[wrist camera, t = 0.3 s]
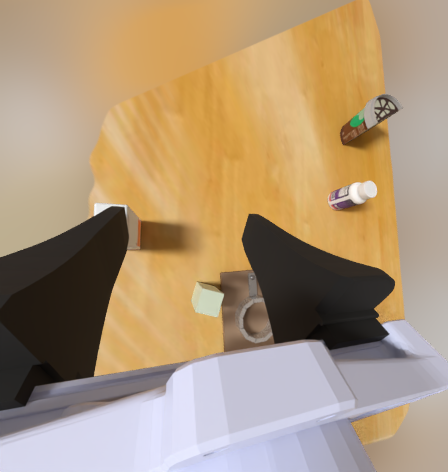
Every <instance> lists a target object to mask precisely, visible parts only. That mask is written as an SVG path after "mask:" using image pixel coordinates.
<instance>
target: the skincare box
mask: <svg viewBox="0 0 448 472" xmlns="http://www.w3.org/2000/svg"><path fill="white" fill-rule="evenodd" d="M111 206H120V207H125V213H126V219H127V225H128V232H129V242H128V247H127V250H135V249H140V235H141V220H140V219H139V218H138V217H137V216H136V214H135V213H134V212H133V211H132V210H131V209H130V208H129V206H128V205H120V204H106V203H95V206H94V216H95V215H97V214H98V213H100V212H102V211H103V210H105V209H107V208H109V207H111Z"/></svg>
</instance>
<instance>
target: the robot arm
mask: <svg viewBox="0 0 448 472" xmlns="http://www.w3.org/2000/svg"><path fill="white" fill-rule="evenodd" d="M128 242H129V232H128V225H127V219H126V213H125V207H120V206H111V207H109V208H107V209H105V210H103V211H102V212H100V213H98V214H97V215H95V216H93V217H92V218H90V219H88V220H87V221H85V222H83V223H81V224H80V225H78V226H76V227H74V228H72V229H70V230H68V231H66V232H64V233H62V234H60V235H58V236H56V237H54V238H51V239H49V240H47V241H44V242H42V243H40V244H37V245H34V246H32V247H29V248H26V249H23V250H20V251H18V252H15V253H12V254H9V255H6V256H3V257H0V472H377V471H376V470H375V468H374V466H373V464H372V462H371V460H370V458H369V457H368V455H367V453H366V451H365V449H364V447H363V445H362V443H361V441H360V440H359V438H358V436H357V434H356V432H355V430H354V428H353V426H352V425H351V422H354V421H357V420H360V419H363V418H366V417H369V416H372V415H375V414H378V413H381V412H384V411H387V410H390V409H393V408H396V407H399V406H402V405H405V404H408V403H411V402H414V401H417V400H419V399H422V398H425V397H427V396H430V395H433V394H436V393H438V392H441V391H444V390H447V389H448V361H447V360H445V358H444V357H442V355H441V354H440V353H439V352H438V351H437V350H436V349H434V348H433V347H432V346H431V345H430V344H429V343H428V342H427V341H426V340H425V339H424V338H423V337H422V336H421V335H420V334H419V333H418V332H417V331H416V330H415V329H414V328H413V327H412V326H411V325H410V324H409V323H408V322H407V321H406V320H404V319H400V320H393V321H387V322H384V323H382V324H380V323H379V322H378V320H377V319H376V318H378V317H379V314H378V313H377V312H376V311H375V310H374V308H375V307H376V306H377V305H378V304H380V303H381V302H382V301H383V300H384V299H385V298H386V297H387V296H388V295H389V294H390V293H391V292H392V291H393V289H394V286H395V281H394V279H392V278H391V277H390V276H389V275H388V274H386V273H385V272H384V271H382V270H381V269H378V268H375V267H371V266H367V265H364V264H360V263H356V262H353V261H350V260H347V259H344V258H341V257H338V256H335V255H332V254H330V253H327V252H325V251H323V250H320V249H318V248H316V247H313V246H311V245H309V244H307V243H305V242H303V241H301V240H299V239H298V238H296V237H294V236H292V235H291V234H289V233H287V232H286V231H284V230H283V229H281V228H279V227H278V226H276V225H275V224H273V223H272V222H270V221H269V220H267V219H266V218H264V217H262V216H260V215H258V214H249V216H248V219H247V222H246V226H245V229H244V233H243V236H242V243H243V247H244V250H245V253H246V255H247V258H248V260H249V262H250V265H251V267H252V269H253V271H254V274H255V276H256V278H257V281H258V283H259V286H260V289H261V292H262V296H263V299H264V302H265V306H266V310H267V313H268V317H269V321H270V325H271V330H272V334H273V339H274V344H273V345H267V346H260V347H254V348H248V349H241V350H235V351H229V352H222V353H216V354H212V355H208V356H204V357H201V358H197V359H194V360H192V361H187V362H181V363H175V364H169V365H163V366H157V367H151V368H144V369H138V370H132V371H126V372H120V373H114V374H108V375H101V376H95V377H94V371H95V366H96V360H97V355H98V350H99V345H100V340H101V335H102V330H103V326H104V321H105V317H106V312H107V308H108V304H109V300H110V296H111V293H112V289H113V286H114V284H115V281H116V278H117V276H118V273H119V271H120V268H121V265H122V263H123V260H124V257H125V254H126V251H127V247H128Z"/></svg>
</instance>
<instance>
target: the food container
mask: <svg viewBox="0 0 448 472" xmlns="http://www.w3.org/2000/svg"><path fill="white" fill-rule="evenodd" d="M402 108H403V107H402V105H401V104H400V103H399V102H398V100H397V99H395V98H394V97H393V96H391V95H388V94H382V95H379V96H377V97H375V98H373V99H371V100H370V101H368V103H367V104H366V106H365V108H364V109H363V110H362V111H360V112H359V113H358V114H357V115H356V116H355V117H353V118H352V119H351V120H350V121H349V122H348V123H346V124H345V125H344V126H343V127H342V129H341V132H340V137H341V141H342V144H343V145H344V144H346V143H348V142H349V141H351V140H353V139H354V138H356V137H358V136H360V135H361V134H363V133H365V132H366V131H368V130H369V129H371V128H372V127H374V126H376V125H377V124H379V123H380V122H382V121H384V120H385V119H387V118H388V117H390V116H391V115H393V114H395V113H396V112H398V111H399V110H401V109H402Z"/></svg>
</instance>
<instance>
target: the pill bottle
mask: <svg viewBox="0 0 448 472" xmlns="http://www.w3.org/2000/svg"><path fill="white" fill-rule="evenodd" d="M376 194H377V187H376V185H375V184H374V183H373V182H372V181H366V182H364V183H359V182H356V183H353V184H350V185H348V186H345V187H343V188H340V189H338V190H335V191H333V192H331V193H330V194H329V196H328V204H329V206H330V207H331V208H332V209H334V210H341V209H344V208H348V207H351V206H355V205H359V204H362V203H364V202H365V201H366V200H367V199H370V198H373V197H375V196H376Z"/></svg>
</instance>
